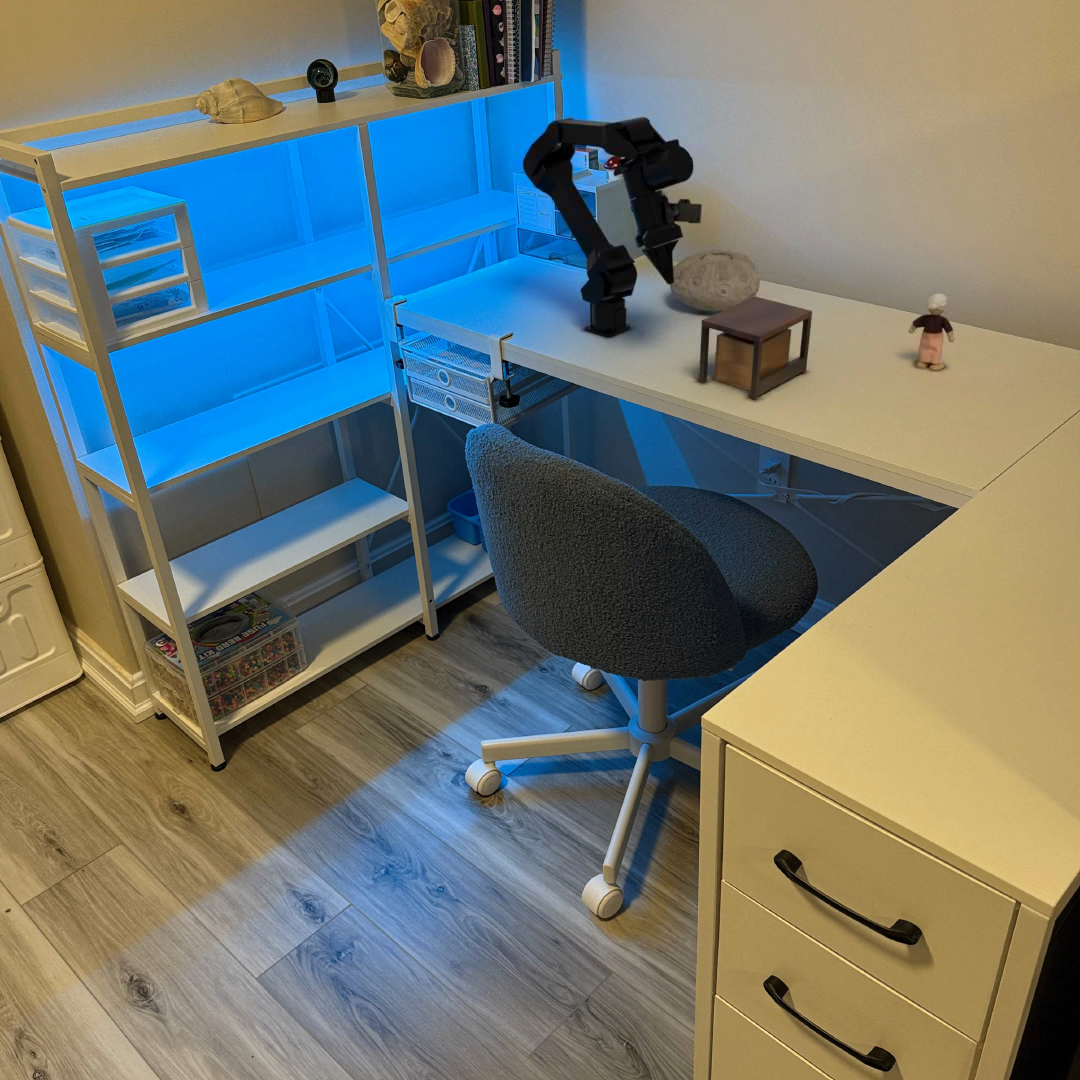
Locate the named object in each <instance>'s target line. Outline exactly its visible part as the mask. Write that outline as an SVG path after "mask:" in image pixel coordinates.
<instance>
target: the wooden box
mask: <svg viewBox="0 0 1080 1080" xmlns="http://www.w3.org/2000/svg"><path fill="white" fill-rule="evenodd" d="M791 337H792V329H791V328H787V329H785V330H783V331H781V332H779V333H777V334H775V335H773V336H771V337H769V338H767V339H765V340H763V345H762V357H761V370H760V377H762V376H763V375H765V374H767V373H769V372H771V371H773V370H775V369H777V368H779V367H780V366H782V365H784V364H786V363H788V362H790V361H789V360H790V349H791V340H792V339H791ZM753 353H754V341H753V340H750V339H746V338H742V337H739V336H735V335H732V334H728V333H725V332H720V333H719V334H717V335H716V344H715V359H714V360H715V362H714V381H718V382H720V383H723V384H727V385H730V386H734V387H737V388H740V389H743V390H746V391H749V392H751V379H752V366H753Z"/></svg>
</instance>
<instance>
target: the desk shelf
mask: <svg viewBox="0 0 1080 1080" xmlns="http://www.w3.org/2000/svg"><path fill="white" fill-rule="evenodd" d="M812 318H813V310H811V309H806V308H803V307H799V306H795V305H791V304H787V303H782V302H780V301H775V300H771V299H767V298H763V297H760V296H757V295H756V296H755V297H753V298H750V299H748V300H746V301H744V302H741V303H739V304H737V305H735V306H732V307H730V308H728V309H726V310H724V311H718V312H716V313H715V314H713V315H710V316H708V317H706V318H703V319H701V330H700V349H699V351H700V352H699V353H700V354H699V371H698V373H699V374H698V383H702V384H705V383H707V382H708V367H709V348H710V347H709V346H710V329H711V330H714V331H718V332H720V333H723V332H725V333H728V334H732V335H735V336H739V337H742V338H746V339H750V340H753V341H754V353H753V366H752V379H751V391H750V393H749V395H750V396H749V399H750V400H753V401H756V400H758V399H759V396H760V395H762V394H764V393H766V392H767V391H769V390H771V389H773V388H775V387H777V386H778V385H781V384H783V383H784V382H786V381H788V380H789V379H792V378H793V377H796V376H797V375H799V374H801V375H804V374H805V373H807V366H808V356H809V346H810V339H811V338H810V337H811V328H812ZM799 323H802V329H801V339H800V348H799V349H800V350H799V356H797V357H796V358H794V359H792V360H790V361H788V363H786V364H784V365H782V366H780V367H779V368H777V369H775V370H773V371H771V372H769V373H767V374H765V375H763V376H762V377H760V370H761V357H762V345H763V340H765V339H767V338H769V337H771V336H773V335H775V334H777V333H779V332H781V331H783V330H785V329H787V328H788V329H790V328H791V327H794V326H796V325H797V324H799Z"/></svg>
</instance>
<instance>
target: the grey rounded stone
mask: <svg viewBox="0 0 1080 1080" xmlns="http://www.w3.org/2000/svg"><path fill="white" fill-rule="evenodd" d="M673 273H674V283H673V284H670V285H669V288H670V291H671V294H672V295H673V297H674V298H675V299H676V301H679V302H680V303H682V304H684V305H686V306H689V307H691V308H693V309H695V310H701V311H703V312H704V311H705V312H709V313H710V312H716V313H718V312H721V311H724V310H726V309H728V308H730V307H732V306H735V305H737V304H739V303H741V302H744V301H746V300H748V299H750V298H753V297H755V296H756V297H757V294H758V292H759V290H760V285H761V274H760V273H759V270H758V268H757V266H756V264H755V262H754V261H752V260H751V259H750V258H749V257H748V254H742V253H739V252H734V251H731V250H729V249H727V250H723V249H711V250H708V251H703V252H702V251H701V252H697V253H693V254H692V255H689V256H686V257H684V258H683V259H681V261H679V262H678V263H676V264H675V265H673Z"/></svg>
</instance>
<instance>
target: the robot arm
mask: <svg viewBox="0 0 1080 1080" xmlns="http://www.w3.org/2000/svg"><path fill="white" fill-rule="evenodd" d="M576 146H584V147H585V146H586V147H594V148H600V149H603V150H604V151H603V152H605V153H606V154H608V155H609V156H610V155H611V156H613V157H614V158H618V161H617V165H616V167H615V168H614V170H613V176H614V177H617V176H620V175H622V178H623V182H624V185H625V188H626V192H627V196H628V198H629V202H630V205H631V206H630V210H631V213H633V216H634V221H635V223H636V227H637V229H636V234H635V236H634V241H635V244H636V248H638V249H640V248H642V247H643V246H644V247H645V248H643V249H641V252H642V254H644V256H645V257H646V258H647V259H648V261H649V263H651V264H652V266H653V268H655V270H656V271H657V272H658V274H659V275H660V277H661V278H662V279H663V281H664V282H665V283H666V284H667V285H669V286H670V284H673V283H674V273H673V266H674V258H673V257H674V256H673V252H674V250H675V248H676V246H677V244H678V243H679V241H680V239H681V238H683V237H684V235H683V231H682V227H681V225H679V224H678V223H680V222H682V223H689V224H701V223H702V222H701V220H702V208H703V204H701V203H692V202H691V201H690V198H679V199H678V201H677V202H670V201H669V199H668V197H669V196H667V195H666V194H664V192H663V190H664V189H667V188H670V187H673V186H675V185H679V184H681V183H684V182H687V181H688V180H689V179H690V178H691V177H692V175H693V173H694V159H693V157H692V156H691V154H690V152H689V151H688V150H687V149H686V148H685V147H684V146H681V145H680V141H679V139H678V138H675V139H671V140H665V139H664V138H663V136H662V135H661V134H660V133H659V132H658V131H657V130H656V128H655V127H654V126H653V125H652V123H651V120H650V119H649V118H648V117H645V116H640V117H635V118H634V117H633V118H630V119H623V120H619V121H614V122H609V121H597V120H587V119H586V120H585V119H576V118H573V117H566V118H560V119H556V120H552V121H551V122H549V124H548V125H547V126H546V128H545V130H544V132H543V133H542V134H541V135H540V136H539V137H538V138H537V139H535V140H534V141H533V143H531V144H530V146H529V148H528V149H527V152H526V153H525V155H524V157H523V160H522V168H523V171H524V174H525V175H526V177H527V178H528V180H529V181H530V183H532V185H533V186H534V187H535V188H536V189H537V190H539V191H541V192H542V193H544V194H546V195H547V196H548V197H550V198H551V200H552V201H553V203H554V205H555V207H556V208H557V210H558V212H559V214H560V215H561V217H562V219H563V220H564V223H565V224H566V226H567V227H568V229H569V231H570V232H571V234H572V235H573V237H574V239H575V241H576V242H577V244H578V246H579V248H580V250H581V251H582V253H583V254H584V256H585V258H586V276H587V278H588V280H587V281H586V282H585V283H584V284H583V285H582V286H581V288H580V295H581V298H582V301H584V302H586V303H588V304H589V324H587V325H585V326H584V330H585V331H588V332H591V333H594V334H596V335H601V336H604V337H607V338H611V337H613V336H615V335H618V334H620V333H623V332H625V331H627V330H629V329H631V325H630V324H628V323H627V307H626V298H627V297H632V296H633V294H634V290H635V286H636V283H637V279H638V269H637V267H636V266H635V263H636V260H635V259H633V258H632V257H631V255H630V253H629V250H628V249H627V247H626V246H625V245H624V244H620V245H616V246H614V245H613V244H611V243H610V242H609V240H608V238H607V236H606V235H605V233H604V232H603V230H602V228H601V226H600V225H599V223H598V221H597V220H596V218H595V216H594V214H593V213H592V211H591V210H590V208H589V206H588V205H587V203H586V201H585V200H584V198H583V196H582V195H581V193H580V191H579V189H578V188H577V186H576V185H575V183H574V181H573V179H574V178H573V177H574V166H573V163H572V159H573V158H574V156H575V154H576ZM676 222H677V223H676Z"/></svg>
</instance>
